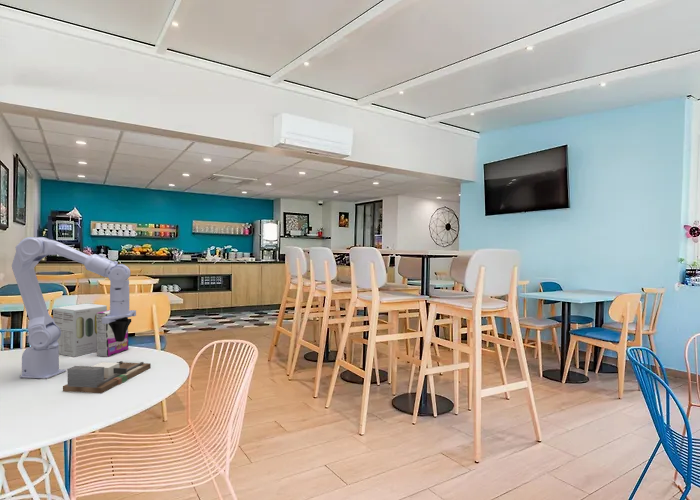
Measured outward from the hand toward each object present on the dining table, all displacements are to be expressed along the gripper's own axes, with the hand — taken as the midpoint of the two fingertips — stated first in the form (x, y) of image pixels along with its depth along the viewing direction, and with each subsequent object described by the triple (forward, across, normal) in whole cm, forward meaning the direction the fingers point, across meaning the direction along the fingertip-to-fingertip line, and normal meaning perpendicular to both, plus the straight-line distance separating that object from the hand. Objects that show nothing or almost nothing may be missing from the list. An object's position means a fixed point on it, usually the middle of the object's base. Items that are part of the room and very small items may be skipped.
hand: (119, 341), depth 143 cm
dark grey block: (+8, -20, -4) cm, 22 cm away
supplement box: (+10, +19, +30) cm, 37 cm away
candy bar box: (+10, +18, +16) cm, 26 cm away
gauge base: (+9, -10, -4) cm, 14 cm away
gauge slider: (+7, -13, -6) cm, 16 cm away
